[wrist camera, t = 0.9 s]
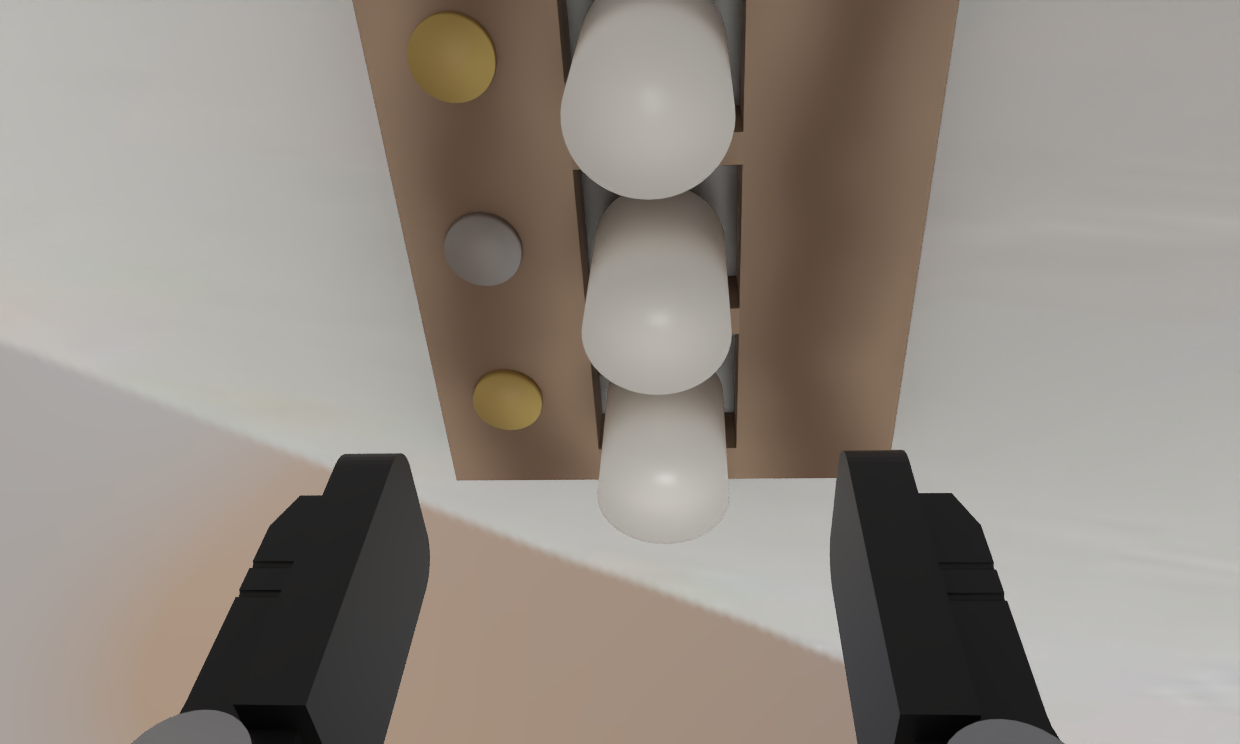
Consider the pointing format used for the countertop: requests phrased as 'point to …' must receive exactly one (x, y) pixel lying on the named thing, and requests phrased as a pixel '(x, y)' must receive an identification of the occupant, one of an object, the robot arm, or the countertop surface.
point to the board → (766, 237)
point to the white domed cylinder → (649, 96)
